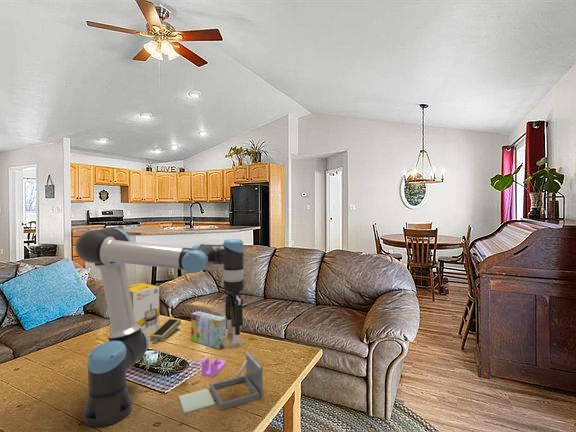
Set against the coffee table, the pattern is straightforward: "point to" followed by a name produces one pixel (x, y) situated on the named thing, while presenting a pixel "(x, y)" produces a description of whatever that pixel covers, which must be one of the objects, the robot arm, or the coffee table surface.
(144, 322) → the packaging box
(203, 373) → the bracket
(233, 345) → the hand bell
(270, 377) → the coffee table surface
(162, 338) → the box
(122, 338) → the robot arm
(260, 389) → the hatch
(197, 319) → the snack box
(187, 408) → the pad
